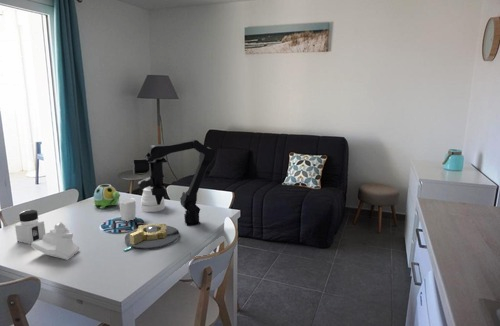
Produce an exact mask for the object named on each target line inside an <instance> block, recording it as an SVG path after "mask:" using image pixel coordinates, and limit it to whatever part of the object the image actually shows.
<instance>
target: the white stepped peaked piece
mask: <svg viewBox="0 0 500 326" xmlns="http://www.w3.org/2000/svg"><path fill="white" fill-rule="evenodd" d="M73 237H74V234H73V233H71V232H70V230H69V229H68V227H67V226H66V225H65V224H64V223H63V222H61V221H60V222H58V223H56V224H55V225H54V226H53V227H52V228H51V229H50V230H49V232H45V235H44V236H43V238H42V239H40V240H38V241H35V242H32V243H31V244H30V248H33V249H34V250H36V251H39V252H41V253H42V254H45V255H46V256H51V257H54V258H55V257H56V258H58V259H61V260H67V261H68V259H69V258H70V259H71V258H72V257H73V256H75V255H76V254H77V253H78V252H79V251H80V246H79V245H78V244H76V243H74V241H73ZM74 254H75V255H74ZM70 259H69V260H70Z"/></svg>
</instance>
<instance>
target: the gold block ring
mask: <svg viewBox="0 0 500 326" xmlns="http://www.w3.org/2000/svg"><path fill="white" fill-rule="evenodd" d="M151 225H156V226H158V231H157V232H151V233H147V232H146V227H147V226H151ZM166 225H167V224H166V223H164V222H161V223H150V224H149V223H148V224H145V225H142V224H141V225H138V226H137V228H138V229H137V228H136V229H137V231H136V232H134V233H131V234H130V244H134V245H135V244H137V243H139V242H141V241H143V240H155V239H158V238H159V239H160V238H165V237H167V228H166Z"/></svg>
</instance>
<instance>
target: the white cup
mask: <svg viewBox="0 0 500 326" xmlns="http://www.w3.org/2000/svg"><path fill="white" fill-rule="evenodd" d="M136 202H137V201H136V199H135V198H130V197H129V198H128V197H127V198H122V199H119V202H118V205H119V212H120V216H121V217H120V218H121V221H122V220H132V219H135V220H136V218H137V217H136V214H137V212H136V211H137V210H136V209H137V206H136V204H137V203H136Z"/></svg>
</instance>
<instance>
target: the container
mask: <svg viewBox="0 0 500 326" xmlns="http://www.w3.org/2000/svg"><path fill="white" fill-rule="evenodd" d="M18 216H19V217H18V218H19V223H17V224H15V226H14V228H15V235H16V241H17V242H18V241H19V243H22V242H24V243H23V244H27V243H29V244H28V245H32V242H35V241H39V240H42V238H43V236H44V235H45V234H46V228H45V221H44V220H39V215H38V211H37V210H35V209H27V210H24V211H21V212H20V213H19V214H18Z"/></svg>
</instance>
